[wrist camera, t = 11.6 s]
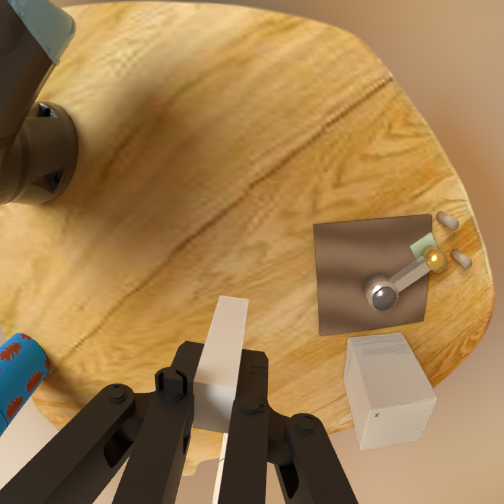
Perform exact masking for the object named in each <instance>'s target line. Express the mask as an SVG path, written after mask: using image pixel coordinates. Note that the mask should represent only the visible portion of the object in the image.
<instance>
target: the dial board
mask: <svg viewBox="0 0 504 504" xmlns="http://www.w3.org/2000/svg"><path fill="white" fill-rule="evenodd" d="M436 219H437V221H439V222H440V223H442V224H444V225H445V226H447V227H449V228H450V229H452V230H455V229H457V228H458V225H459V222H458V220H457V219H455V218H453V217H451V216H449V215H447V214H445V213H443V212H441V211H440V212H438V213H437V215H436ZM431 226H432V215H430V214H423V215H411V216H399V217H388V218H376V219H365V220H354V221H343V222H333V223H323V224H313V228H314V242H315V256H316V272H317V291H318V313H319V334H320V336H325V335H333V334H341V333H349V332H357V331H364V330H371V329H378V328H384V327H391V326H397V325H403V324H409V323H414V322H420V321H423V319H424V311H425V304H426V295H427V286H428V276H429V272H428V273H426V274H425V275H423V276H422V277H421V278H419V279H418V280H416V281H415V282H413V283H412V284H410V285H409V286H408V287H406V288H405V289H403V290H402V291H400V292H399V293H398V294H399V297H398V300H397V303H396V304H395V305H394V307H392V308H391V309H390V310H388V311H385V312H377V311H375V310H373V309H372V308H371V306H370V304H369V303H368V301H367V299H366V297H365V295H364V293H363V285H364V283H365V281H366V279H367V278H368V277H370V276H371V275H373V274H376V273H382V274H385V275H387V276H388V277H389V278H391V277H392V276H394V275H395V274H396V273H398V272H399V271H401V270H402V269H404V268H405V267H407V266H408V265H410V264H411V263H412V262H414V261H415V260H417V259H418V258H420V257H421V252H422V250H423V249H424V248H425V247H426V246H428V245H432V246H434V247H436V248H437V245H436V243H435V240H434V238H433V235H432V233H431ZM437 249H438V248H437ZM451 257H452V258H453V259H454V260H456V261H457V262H458V263H459V264H461V265H462V266H463V267H464V268H466V269H468V268H470V267H471V265H472V261H471V259H469V258H468V257H467V256H465V255H464V254H463V253H461V252H460V251H458V250H457V249H453V250H452V251H451Z"/></svg>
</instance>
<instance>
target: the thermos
mask: <svg viewBox="0 0 504 504" xmlns="http://www.w3.org/2000/svg"><path fill="white" fill-rule="evenodd" d="M48 371H49V361H48V358H47V356H46V354H45V353H44V351H43V349H42V348H41V347H40V346H39V345H38V344H37V342H36V341H34V340H33V339H32V338H31V337H29V336H27V335H25V334H22V333H17V334H15V335H14V336H13V337H11V338H10V339H9V340H8V341H7V342H5V343H4V344H3V345H2V346H1V347H0V436H1V435H2V434H3V432H4V431H5V430H6V428H7V427H8V425H9V424H10V423H11V421H12V420H13V419H14V417H15V416H16V414H17V413H18V412H19V410H20V409H21V408H22V407H23V405H24V404H25V403H26V401H27V400H28V399H29V397H30V396H31V395H32V393H33V392H34V391H35V390H36V388H37V387H38V386H39V384H40V383H41V382H42V380H43V379H44V377H45V376H46V374H47V373H48Z"/></svg>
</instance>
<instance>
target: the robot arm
mask: <svg viewBox="0 0 504 504" xmlns="http://www.w3.org/2000/svg"><path fill="white" fill-rule="evenodd" d="M75 32H76V23H75V20H74V19H73V18H72V17H71V16H70V15H69V14H68V13H66V12H65V11H64V10H62V9H61V8H60V7H58V6H57V5H55V4H54V3H53V2H51V1H50V0H0V206H1V205H3V204H6V203H8V202H12V203H20V204H28V205H37V204H42V203H45V202H47V201H50V200H52V199H54V198H56V197H57V196H59V195H60V194H61V193H62V192H63V191H64V190H65V188H66V187H67V185H68V184H69V182H70V180H71V178H72V176H73V173H74V170H75V166H76V161H77V151H78V146H77V137H76V132H75V128H74V125H73V123H72V121H71V119H70V117H69V116H68V114H67V113H66V112H65V111H64V110H63V109H62V108H61V107H60V106H58V105H56V104H54V103H50V102H35V100H36V98H37V97H38V95H39V93H40V91H41V90H42V88H43V86H44V85H45V83H46V81H47V80H48V78H49V76H50V75H51V73H52V71H53V70H54V68H55V67H56V66H58V65H59V63H60V58H61V56H62V55H63V53H64V51H65V50H66V48H67V47H68V45H69V44H70V42H71V40H72V39H73V37H74V35H75ZM248 303H249V299H243V298H236V297H229V296H222V295H220V297H219V300H218V303H217V307H216V310H215V313H214V316H213V319H212V323H211V326H210V329H209V332H208V335H207V339H206V342H205V344H202V343H196V342H190V341H185V342H184V343H183V344H181V345H180V346H179V348H178V350H177V352H176V356H175V357H174V360H173V362H172V365H171V367H167V368H163V369H161V370H159V371H158V372H157V373H156V374H155V385H156V391H153V392H150V393H134V392H133V391H132V389H131V388H130V387H128V386H127V385H124V384H111V385H108V386H106V387H105V388H103V389H102V390H101V391H100V392H99V393H98V394H97V395H96V396H95V397H94V398H93V399H92V400H91V401H90V402H89V403H88V404H87V405H86V406H85V407H84V408H83V409H82V410H81V411H80V412H79V413H78V414H77V415H76V416H75V417H74V418H73V419H72V420H71V421H70V422H69V423H68V424H67V425H66V426H64V427H63V428H62V429H61V430H60V431H59V432H58V433H57V434H56V435H55V436H54V438H52V440H50V442H48V443H47V444H46V445H45V446H44V447H43V448H42V449H41V450H40V451H39V452H38V453H37V454H36V455H35V456H34V457H33V458H32V459H31V460H30V461H29V462H28V463H27V464H26V465H25V466H24V467H23V468H22V469H21V470H20V471H19V472H18V473H17V474H16V475H15V476H14V477H13V478H12V479H11V480H10V481H9V482H8V483H7V484H6V485H5V486H4V487H3V488H2V489H1V490H0V504H92V503H93V502H94V501H95V500H96V498H97V497H98V496H99V495H100V493H101V492H102V490H104V488H105V487H106V486H107V484H108V483H109V482H110V481H111V479H112V478H113V477H114V476H115V474H116V473H117V472H118V470H119V469H120V468H121V466H122V465H123V464H124V463H125V461H126V460H127V459H128V458H129V459H128V462H127V465H126V467H125V470H124V472H123V475H122V478H121V481H120V483H119V486H118V488H117V491H116V494H115V496H114V499H113V502H112V504H175V499H176V495H177V491H178V487H179V483H180V479H181V475H182V471H183V467H184V463H185V459H186V455H187V451H188V447H189V443H190V439H191V427H192V424H193V428H198V429H203V430H209V431H215V432H222V433H228V438H227V445H226V451H225V458H224V464H223V471H222V477H221V484H220V490H219V497H218V503H217V504H265V496H266V474H267V462H270V463H273V464H274V466H275V469H276V473H277V476H278V480H279V483H280V486H281V490H282V493H283V496H284V500H285V503H286V504H358V502H357V500H356V497H355V495H354V493H353V490H352V488H351V486H350V484H349V481H348V479H347V477H346V475H345V473H344V471H343V468H342V466H341V464H340V461H339V459H338V457H337V455H336V453H335V450H334V448H333V446H332V444H331V441H330V440H329V437H328V435H327V433H326V430H325V428H324V426H323V424H322V422H321V421H320V420H319V419H318V418H317V417H315V416H314V415H311V414H308V413H299V414H295V415H293V416H292V417H291V418H290V417H287V416H284V415H281V414H279V413H277V412H275V411H274V410H273V409H272V408H271V407H270V406H269V404H268V400H267V394H268V361H269V360H268V358H267V356H266V354H265V353H264V352H261V351H253V350H246V349H242V345H243V338H244V331H245V324H246V317H247V310H248ZM129 456H130V457H129Z"/></svg>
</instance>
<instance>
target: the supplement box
mask: <svg viewBox="0 0 504 504" xmlns="http://www.w3.org/2000/svg"><path fill="white" fill-rule="evenodd" d="M343 381H344V385H345V389H346V393H347V397H348V401H349V405H350V409H351V413H352V418H353V422H354V427H355V431H356V435H357V440H358V445H359V450H360V451H363V450H370V449H376V448H382V447H387V446H392V445H398V444H403V443H408V442H412V441H418V440H420V438H421V436H422V434H423V431H424V429H425V427H426V425H427V422H428V420H429V418H430V416H431V413H432V411H433V409H434V406H435V404H436V402H437V399H438V396H437V395H436V393H435V391H434V389H433V388H432V386H431V384H430V382H429V380H428V378H427V376H426V375H425V373H424V371H423V369H422V367H421V365H420V364H419V362H418V360H417V358H416V357H415V355H414V353H413V351H412V349H411V348H410V346H409V344H408V342H407V341H406V339H405V337H404V335H403V334H402V332H398V333H389V334H380V335H370V336H359V337H349V338H348V342H347V351H346V360H345V368H344V376H343Z"/></svg>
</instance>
